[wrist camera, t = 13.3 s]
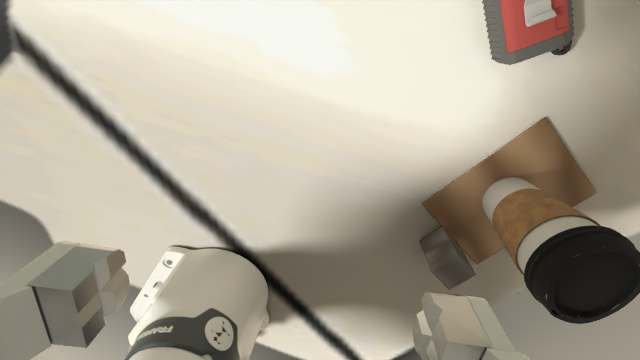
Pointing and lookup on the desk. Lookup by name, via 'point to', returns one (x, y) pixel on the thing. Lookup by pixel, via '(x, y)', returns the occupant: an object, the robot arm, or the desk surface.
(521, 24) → the walkie-talkie
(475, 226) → the walnut strip
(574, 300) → the coffee cup
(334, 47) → the desk surface
